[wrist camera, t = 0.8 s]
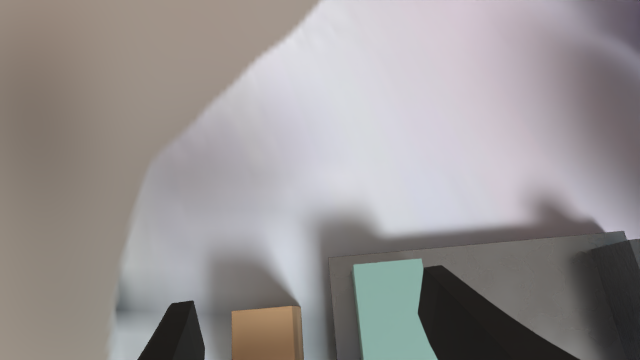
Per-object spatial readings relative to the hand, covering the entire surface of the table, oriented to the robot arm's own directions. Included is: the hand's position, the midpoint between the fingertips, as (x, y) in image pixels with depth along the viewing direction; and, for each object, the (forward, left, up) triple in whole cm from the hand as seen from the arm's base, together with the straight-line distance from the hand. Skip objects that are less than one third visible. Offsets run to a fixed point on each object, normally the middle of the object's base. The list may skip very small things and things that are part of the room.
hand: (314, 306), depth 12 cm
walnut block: (-3, +4, -15) cm, 16 cm away
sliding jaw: (-3, -4, -14) cm, 14 cm away
